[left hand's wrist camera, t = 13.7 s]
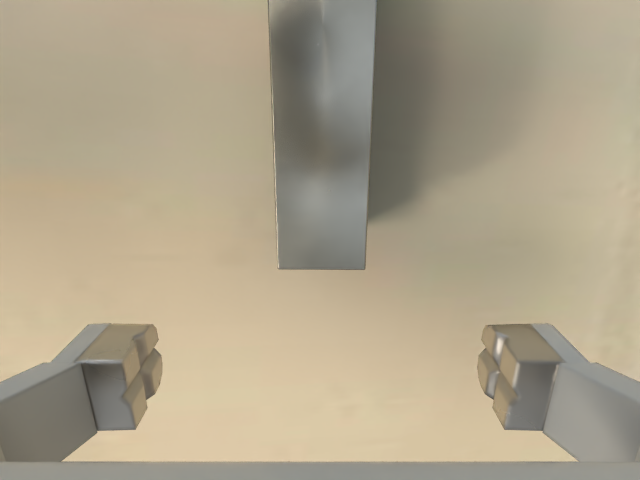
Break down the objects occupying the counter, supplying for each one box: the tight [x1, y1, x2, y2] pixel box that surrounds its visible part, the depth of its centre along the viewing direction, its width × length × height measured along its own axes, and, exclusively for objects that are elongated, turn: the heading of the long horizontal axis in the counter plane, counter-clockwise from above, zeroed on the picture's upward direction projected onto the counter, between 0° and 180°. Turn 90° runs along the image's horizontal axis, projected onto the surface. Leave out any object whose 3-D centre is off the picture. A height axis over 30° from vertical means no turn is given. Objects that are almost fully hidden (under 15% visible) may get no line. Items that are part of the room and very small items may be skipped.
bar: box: [268, 0, 377, 270], centre depth 24 cm, size 27×5×8 cm, turn 0°
